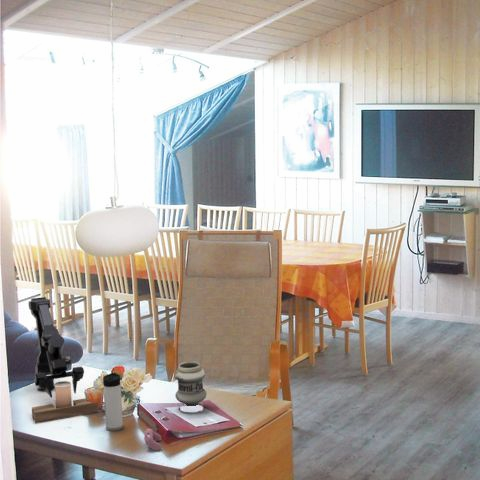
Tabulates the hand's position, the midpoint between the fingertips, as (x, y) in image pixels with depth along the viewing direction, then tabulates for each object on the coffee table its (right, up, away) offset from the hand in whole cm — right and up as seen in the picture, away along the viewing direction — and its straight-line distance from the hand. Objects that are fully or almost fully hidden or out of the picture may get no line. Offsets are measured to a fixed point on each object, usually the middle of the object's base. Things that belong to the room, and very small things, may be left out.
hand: (63, 395), depth 314 cm
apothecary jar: (+50, -6, +2) cm, 50 cm away
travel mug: (+22, -9, -15) cm, 28 cm away
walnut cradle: (+1, -8, 0) cm, 8 cm away
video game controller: (+38, -12, -33) cm, 52 cm away
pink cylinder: (0, -7, +1) cm, 8 cm away
